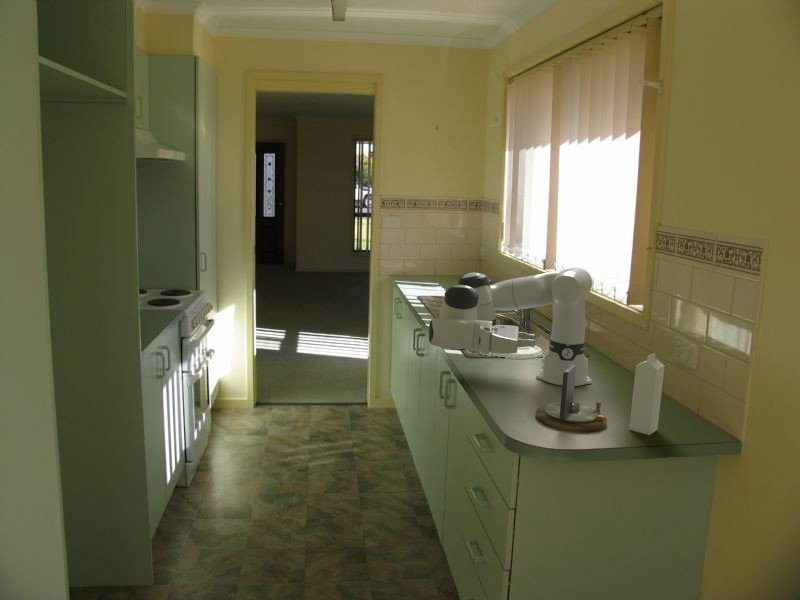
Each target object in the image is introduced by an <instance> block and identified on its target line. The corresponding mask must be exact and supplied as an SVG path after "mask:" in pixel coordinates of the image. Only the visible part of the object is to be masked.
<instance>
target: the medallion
mask: <svg viewBox="0 0 800 600" xmlns="http://www.w3.org/2000/svg"><path fill="white" fill-rule="evenodd" d="M542 353H543V349H542V348H541V347H539V346H538V345H536V344H535V346H534V347H529V346H528V347H518V348H517V352H516V353H510V354H508V353H491V352H490V353H489V354H482V353H481V352H479V355H480V354H482V355H481V356H483V355H487V356H486V357H490V356H492V357H495V356H498V357H497V358H500V357H505V358H504V359H507V358H510V359H509V360H534V359H538V358H541V356H542V355H543V354H542Z"/></svg>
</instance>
